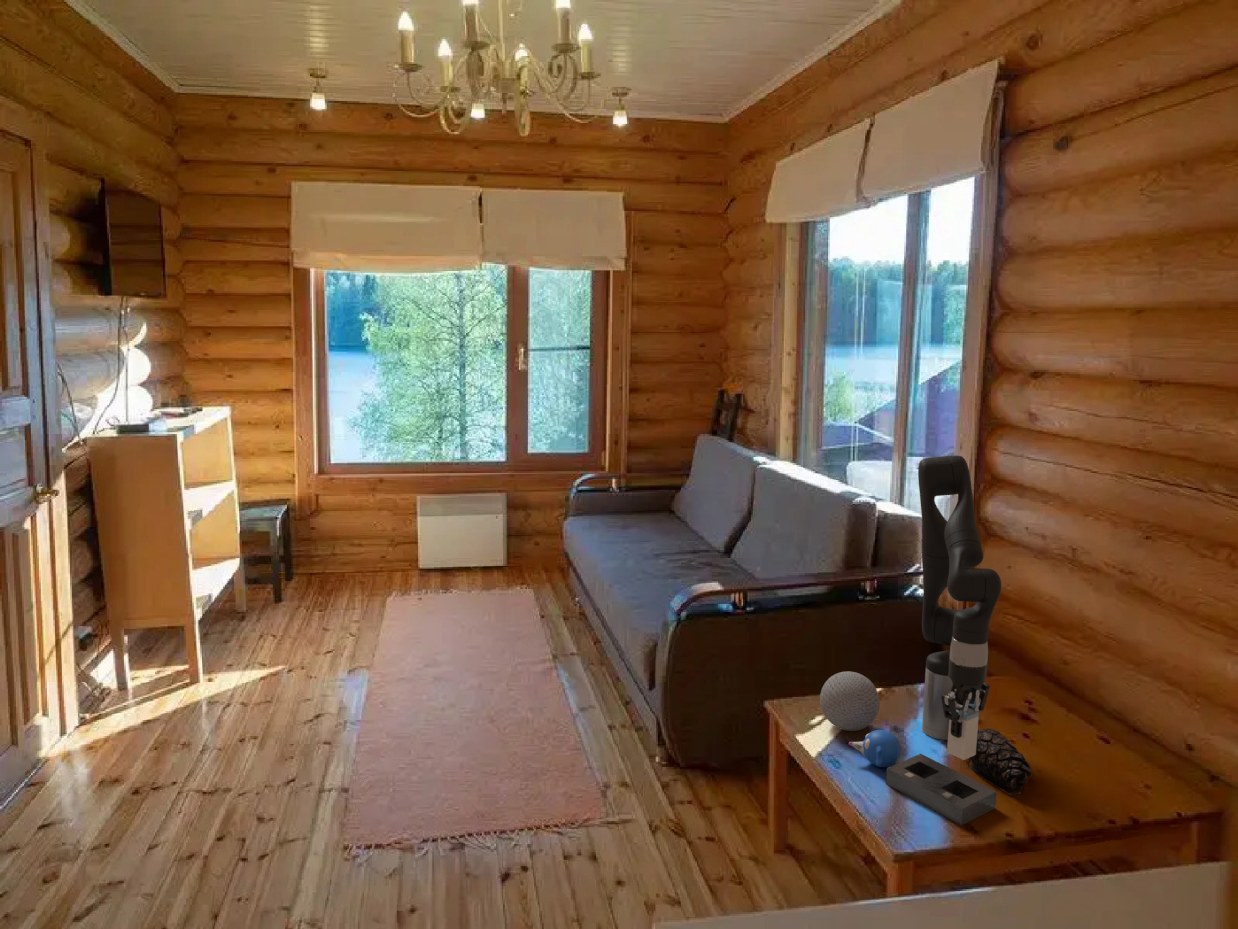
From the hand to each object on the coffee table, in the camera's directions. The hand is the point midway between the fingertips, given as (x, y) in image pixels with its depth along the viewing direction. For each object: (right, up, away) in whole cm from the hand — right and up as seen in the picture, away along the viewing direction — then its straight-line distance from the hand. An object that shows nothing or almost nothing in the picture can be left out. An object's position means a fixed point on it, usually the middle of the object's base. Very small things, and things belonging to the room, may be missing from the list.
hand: (962, 733), depth 193 cm
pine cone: (+15, -15, +15) cm, 26 cm away
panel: (-2, -16, +7) cm, 18 cm away
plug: (0, -5, +1) cm, 5 cm away
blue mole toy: (-13, -14, +21) cm, 29 cm away
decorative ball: (-15, -11, +39) cm, 43 cm away
